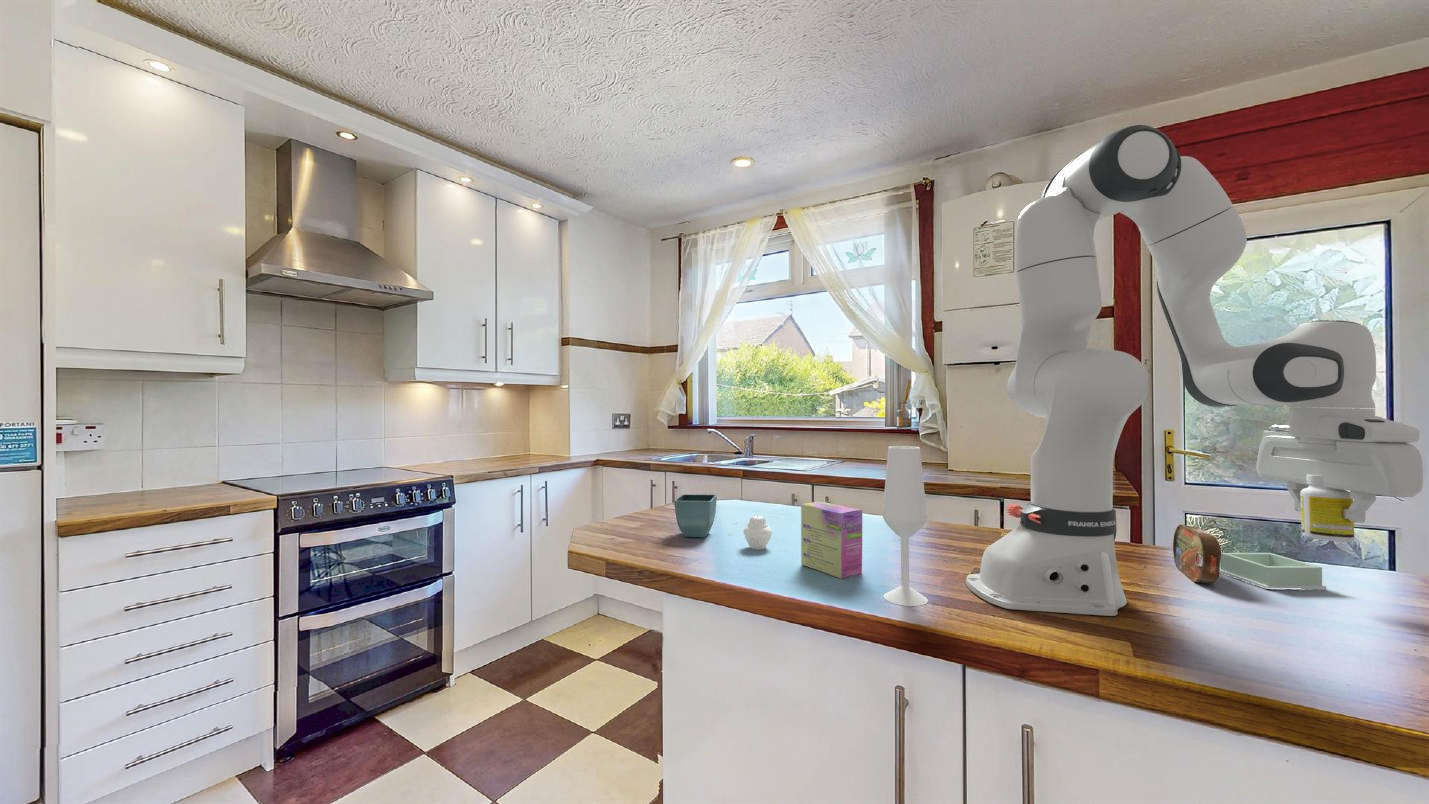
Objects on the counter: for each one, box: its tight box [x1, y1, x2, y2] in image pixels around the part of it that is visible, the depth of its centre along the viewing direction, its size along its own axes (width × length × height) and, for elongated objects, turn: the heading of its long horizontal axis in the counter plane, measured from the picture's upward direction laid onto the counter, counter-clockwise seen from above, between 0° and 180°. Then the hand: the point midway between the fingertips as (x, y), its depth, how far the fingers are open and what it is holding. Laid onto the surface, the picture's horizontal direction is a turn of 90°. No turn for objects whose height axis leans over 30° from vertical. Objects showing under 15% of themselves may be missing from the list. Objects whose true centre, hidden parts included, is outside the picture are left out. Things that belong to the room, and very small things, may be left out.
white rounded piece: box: [743, 514, 773, 551], centre depth 117 cm, size 6×6×7 cm
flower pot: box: [673, 493, 718, 539], centre depth 129 cm, size 9×9×9 cm
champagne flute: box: [882, 445, 929, 607], centre depth 87 cm, size 7×7×24 cm
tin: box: [1172, 524, 1222, 585], centre depth 96 cm, size 15×3×8 cm, turn 154°
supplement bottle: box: [1300, 475, 1355, 543], centre depth 84 cm, size 5×5×10 cm
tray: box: [1219, 552, 1327, 591], centre depth 93 cm, size 9×9×4 cm
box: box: [800, 500, 863, 580], centre depth 102 cm, size 10×6×12 cm, turn 34°
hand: (1328, 516), depth 84 cm, fingers closed on supplement bottle, 5 cm apart
